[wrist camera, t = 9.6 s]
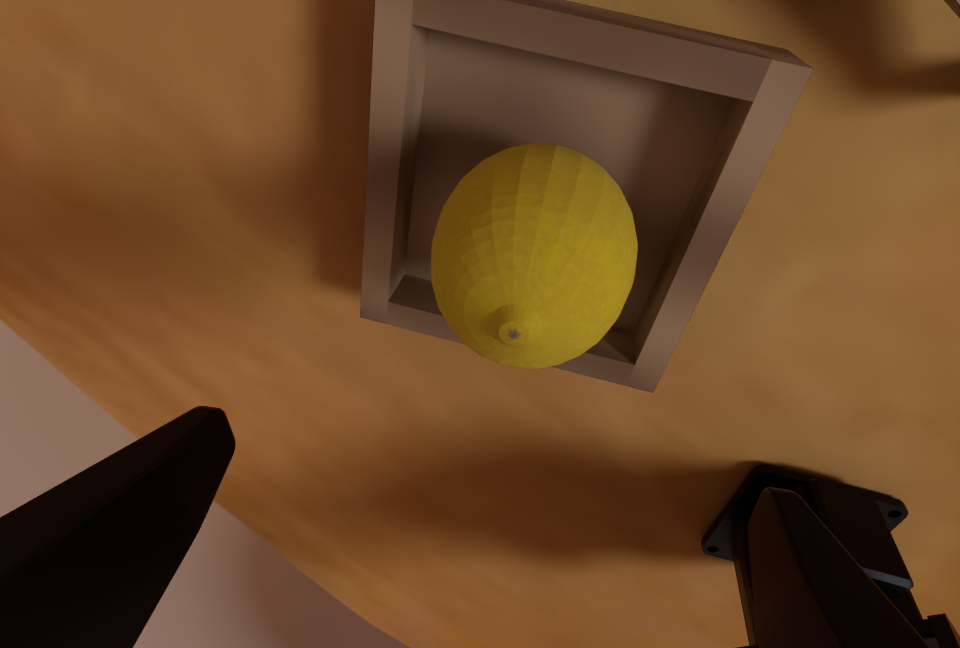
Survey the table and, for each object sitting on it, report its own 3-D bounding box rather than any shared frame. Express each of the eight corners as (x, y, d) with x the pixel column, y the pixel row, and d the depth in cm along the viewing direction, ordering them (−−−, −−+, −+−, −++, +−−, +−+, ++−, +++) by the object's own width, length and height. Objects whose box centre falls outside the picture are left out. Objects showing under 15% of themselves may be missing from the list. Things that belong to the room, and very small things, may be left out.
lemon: (669, 194, 18) (701, 343, 12) (548, 296, 21) (521, 458, 14) (543, 70, 17) (501, 159, 10) (434, 198, 20) (347, 329, 13)
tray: (649, 349, 22) (653, 393, 20) (383, 281, 23) (360, 317, 21) (786, 49, 16) (813, 68, 13) (407, -35, 16) (376, -28, 14)
